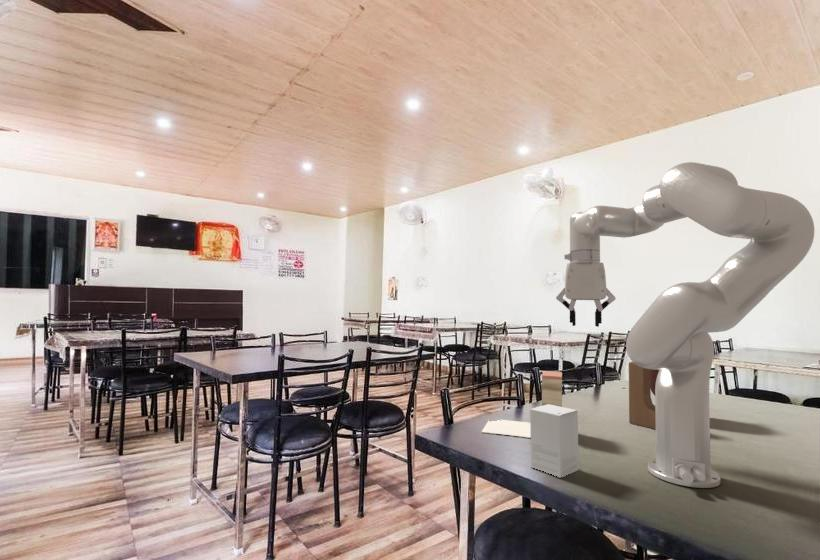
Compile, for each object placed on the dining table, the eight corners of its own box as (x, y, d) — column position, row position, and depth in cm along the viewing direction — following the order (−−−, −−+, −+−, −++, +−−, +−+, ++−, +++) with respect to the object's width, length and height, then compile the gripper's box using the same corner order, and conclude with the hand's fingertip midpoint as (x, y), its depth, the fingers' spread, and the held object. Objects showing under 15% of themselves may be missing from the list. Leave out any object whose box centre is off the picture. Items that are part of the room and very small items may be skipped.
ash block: (562, 438, 111) (561, 376, 112) (542, 436, 113) (541, 375, 113) (562, 430, 118) (561, 372, 119) (543, 428, 120) (543, 370, 121)
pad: (535, 439, 110) (535, 437, 110) (481, 432, 115) (481, 431, 115) (538, 424, 123) (538, 423, 123) (489, 419, 128) (489, 418, 128)
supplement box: (579, 470, 90) (579, 409, 91) (560, 479, 85) (560, 415, 86) (549, 459, 96) (548, 403, 96) (529, 467, 91) (529, 408, 92)
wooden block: (668, 428, 121) (667, 364, 122) (661, 431, 119) (660, 365, 120) (635, 421, 128) (635, 360, 129) (628, 423, 126) (627, 362, 127)
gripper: (551, 257, 114) (551, 325, 113) (621, 256, 108) (622, 327, 108) (551, 260, 121) (552, 324, 120) (618, 259, 116) (618, 326, 115)
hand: (585, 325), depth 114 cm, fingers open, 5 cm apart
